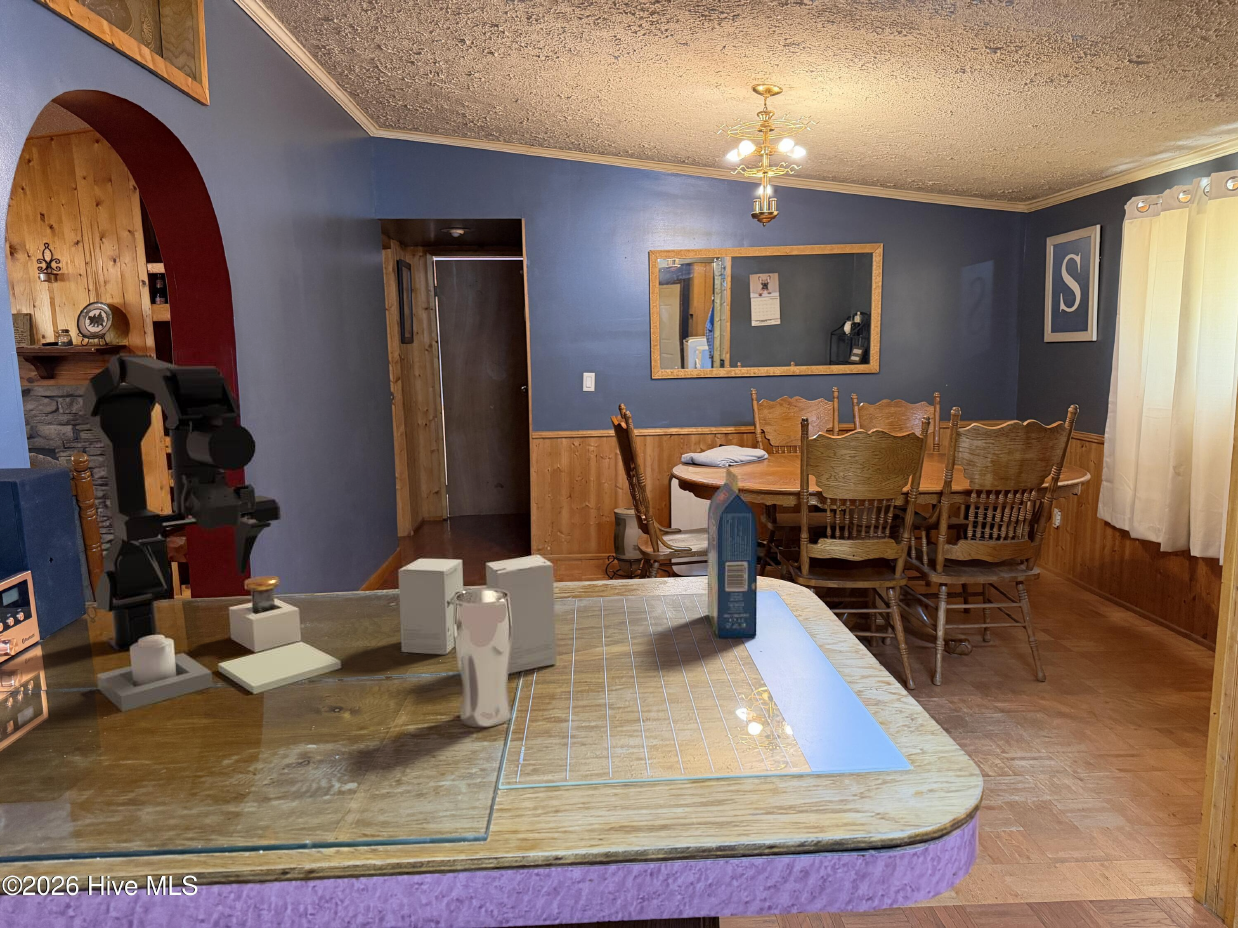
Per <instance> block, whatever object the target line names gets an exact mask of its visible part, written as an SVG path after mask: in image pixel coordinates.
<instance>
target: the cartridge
mask: <svg viewBox="0 0 1238 928" xmlns="http://www.w3.org/2000/svg"><path fill="white" fill-rule="evenodd" d="M164 636H165V635H163V634H161V635H150V636H146V637H143V638H140V639H139V640H138V643H135V644H133V645H132V646H131V647H130V649H129V654H130V662H131V664H130V666H132V677H133V685H132V686H134V687H137V686H141V685H145V684H149V683H152V682H156V681H160V680H164V679H167V678H171V677H175V676H176V665H175V655H176V654H175V643H174V640H173V639H172V638H169V637H166V638H164Z"/></svg>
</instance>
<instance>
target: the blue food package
mask: <svg viewBox="0 0 1238 928" xmlns="http://www.w3.org/2000/svg"><path fill="white" fill-rule="evenodd" d="M738 477H739V475H737V474H736V473H735V472H734V471H733V470H732V469H731V468H729V467H728V466H727V465H726V466H725V482H724V483H723V484H722V485H721V487H720V488H719V489H718V490H717V491H716V492H715V493H714V495H713V496H712V498H711V499H710V501H709V505H708V510H707V614H708V619H709V621H710V622H711V626H712V628H713V631H714V634H716V636H717V638H754V637H757V607H758V606H757V596H758V594H757V593H758V591H757V590H758V584H757V583H758V581H757V578H758V525H757V519H756V516H755V512H754V511H753V509H752V508H751V506H750V505H749V504H748V503H747V502H746V501H745V499H744V498H743V497H742V496H741V495H740V494H739V478H738Z"/></svg>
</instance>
